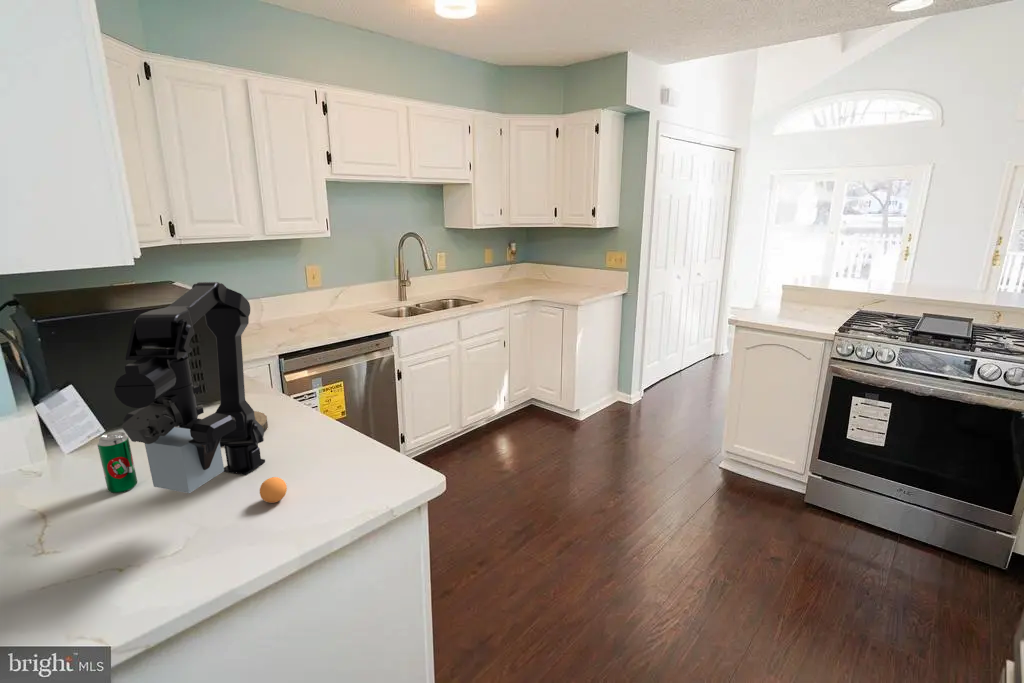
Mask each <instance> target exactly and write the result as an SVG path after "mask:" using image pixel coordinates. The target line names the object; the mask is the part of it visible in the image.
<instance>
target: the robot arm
mask: <svg viewBox="0 0 1024 683" xmlns="http://www.w3.org/2000/svg"><path fill="white" fill-rule="evenodd" d="M250 314H251V304H250V302H249V300H248V299H247V298H245V296H244V295H243V294H242V293H240V292H237V291H236V290H233V289H231V288H228V287H226V285H225V284H224V283H220V282H219V281H201V282H200V281H199V282H197V283H194V284H193V285H192V286H191V288H190V289H189V290H188V291H186V292H185V293H184V294H183V295H181V296H180V297H179V298H178V299H176V300H175V301H174V302H172V303H171V304H169V305H168V306H165V307H162V308H157V309H151V310H148V311H146V312H143V313H140V314H139V315H138V316H137V317H136V318H135V320H134V322H133V324H132V327H131V331H130V336H129V339H128V344H127V345H128V346H127V349H126V350H127V351H126V354H125V361H127V362H129V361H132V363H128V364H126V365H124V372H125V373H124V374H122V375H121V376H120V377H119V378H118V379H117V380H116V382H115V384H114V385H115V386H114V388H113V391H114V394H115V396H116V398H117V399H118V401H119V402H121V403H122V404H123V405H125V406H126V407H129V408H132V409H135V410H132V411H130V412H127V413H126V415H125V417H124V418H123V420H122V421H123V424H122V425H121V429H122V430H123V432H124V433H125V435H126V436H127V437H128V438H129V440H130V441H131V442H133V443H136V442H137V443H143V444H144V445H145V444H151V443H154V442H155V441H157V440H158V439H159V437H160V436H165V435H167V434H168V433H169V432H170V431H171V430H172V429H173V428H174V427H176V428H186V429H190V434H191V437H192V438H193V439H192V440H191V441H189V443H191V444H193V445H195V446H196V447H197V451H198V455H199V459H200V463H201V466H202V468H203V470H206V469H208V468H209V467H210V465H211V462H212V460H213V457H214V454H215V452H216V449H217V447H218V444H219V442H220V447H221V448H224V451H225V453H224V454H225V458H226V463H227V465H226V466H224V471H223V473H224V472H225V473H230V474H238V475H244V476H246V475H248V474H249V473H251V472H252V471H254V470H255V469H257V468H258V467H260V466H262V465H263V464H264V463H266V459H265V458H262V457H261V450H260V447H259V444H260V443H263V442H264V441H265V438H264V435H265V432H264V428H263V427H262V426H261V425H260V424H259V423H258V422H257V421H256V420H255V415H254V411H255V410H254V409H253V408H252V406H251V405H250V404H249V402H248V401H247V400H246V390H245V375H244V374H245V373H244V360H243V347H242V346H243V344H242V343H243V342H242V335H243V333H244V332H245V330H246V329H247V327H248V325H249V322H250V321H249V317H250ZM203 317H204V320H205V325H206V327H207V328H208V329H209V330H210V332H212V334H213V336H214V337H215V341H216V353H217V354H216V358H217V370H218V371H217V372H218V385H219V386H218V388H219V399H220V401H219V402H220V404H219V406H218V407H217V409H216V411H215V412H213V413H212V414H209V415H208V416H206V417H204V418H198V417H199V416H200V415H201V414H204V412H205V411H204V407H202V406H197V399H196V394H197V393H200V392H201V388H200V385H194V382H193V376H192V371H191V366H190V365H191V364H190V358H189V353H191V352H192V351H193V349H192V347H191V346H190V343H191V339H192V338H193V336H194V335H195V329H194V325H195V324H196V323H197V322H198V321H199V320H201V318H203ZM143 348H144V349H143ZM133 361H134V362H133Z"/></svg>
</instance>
